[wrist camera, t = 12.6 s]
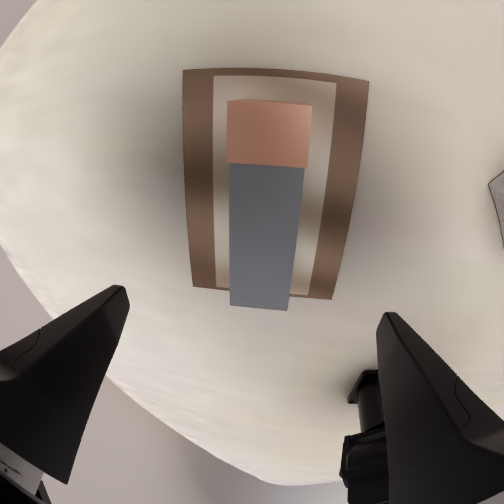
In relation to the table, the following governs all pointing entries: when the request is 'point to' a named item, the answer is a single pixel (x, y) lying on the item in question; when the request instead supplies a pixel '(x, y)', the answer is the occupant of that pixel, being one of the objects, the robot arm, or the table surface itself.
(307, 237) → the writing board
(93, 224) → the table surface
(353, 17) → the table surface
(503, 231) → the supplement box
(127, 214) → the table surface
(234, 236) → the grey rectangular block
